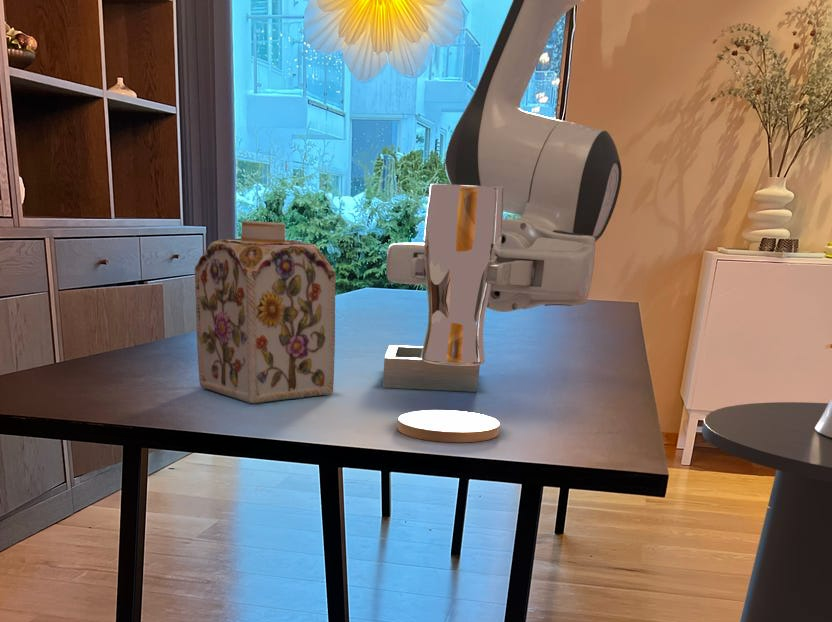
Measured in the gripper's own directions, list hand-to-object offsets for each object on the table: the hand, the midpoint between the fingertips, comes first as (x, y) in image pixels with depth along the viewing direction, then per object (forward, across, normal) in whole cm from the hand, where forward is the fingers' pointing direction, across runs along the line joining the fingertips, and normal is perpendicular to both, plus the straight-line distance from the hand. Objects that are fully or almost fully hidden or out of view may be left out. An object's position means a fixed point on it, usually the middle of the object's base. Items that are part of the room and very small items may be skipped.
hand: (455, 271), depth 82 cm
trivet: (-1, 0, +15) cm, 15 cm away
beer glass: (-1, 0, +8) cm, 8 cm away
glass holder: (-25, -13, +15) cm, 32 cm away
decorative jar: (-6, -26, +15) cm, 30 cm away
